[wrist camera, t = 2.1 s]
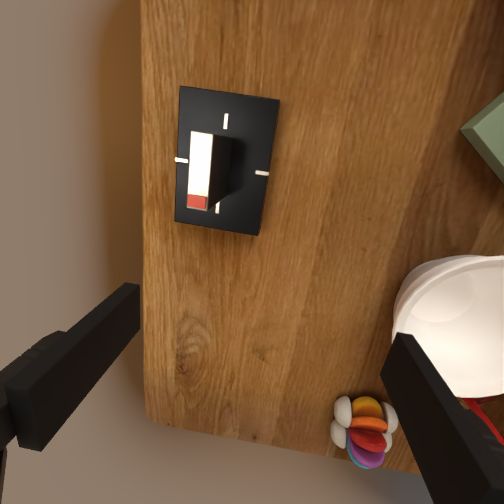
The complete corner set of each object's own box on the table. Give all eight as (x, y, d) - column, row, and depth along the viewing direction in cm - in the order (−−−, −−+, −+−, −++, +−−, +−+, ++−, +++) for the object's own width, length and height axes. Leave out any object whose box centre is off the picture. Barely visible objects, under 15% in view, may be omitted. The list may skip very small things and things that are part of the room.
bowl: (538, 243, 31) (626, 276, 23) (474, 355, 36) (526, 412, 28) (393, 218, 32) (428, 241, 24) (353, 331, 37) (371, 380, 29)
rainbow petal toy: (394, 392, 40) (416, 441, 33) (381, 438, 44) (398, 491, 37) (335, 385, 41) (344, 431, 34) (327, 430, 44) (334, 481, 38)
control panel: (187, 90, 29) (177, 84, 27) (281, 103, 29) (280, 99, 26) (181, 216, 35) (172, 221, 32) (260, 230, 34) (258, 236, 31)
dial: (216, 135, 28) (189, 130, 21) (233, 137, 28) (212, 133, 20) (211, 193, 30) (185, 208, 23) (226, 195, 30) (206, 212, 23)
